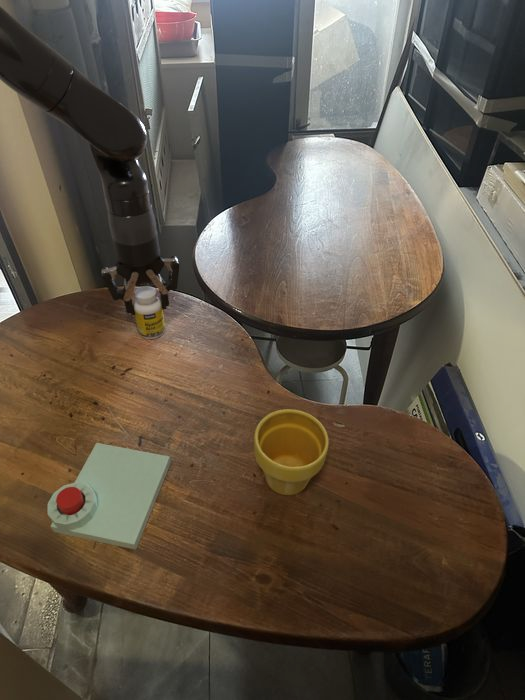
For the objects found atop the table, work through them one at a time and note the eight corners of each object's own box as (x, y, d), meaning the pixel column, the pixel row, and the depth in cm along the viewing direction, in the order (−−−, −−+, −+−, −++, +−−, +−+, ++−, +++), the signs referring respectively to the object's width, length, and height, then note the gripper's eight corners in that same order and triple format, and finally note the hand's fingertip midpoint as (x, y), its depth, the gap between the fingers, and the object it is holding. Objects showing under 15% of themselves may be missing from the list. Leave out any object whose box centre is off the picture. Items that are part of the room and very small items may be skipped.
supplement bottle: (146, 344, 94) (139, 304, 87) (133, 329, 97) (124, 290, 90) (170, 332, 96) (165, 293, 90) (156, 319, 99) (150, 280, 93)
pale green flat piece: (46, 531, 66) (38, 518, 64) (92, 447, 76) (87, 434, 74) (136, 550, 64) (131, 538, 62) (171, 462, 74) (168, 449, 72)
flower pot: (318, 447, 77) (325, 408, 70) (324, 507, 69) (332, 470, 63) (253, 447, 77) (254, 407, 70) (252, 506, 69) (253, 469, 62)
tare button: (55, 512, 65) (51, 505, 63) (66, 491, 67) (63, 484, 66) (77, 516, 64) (73, 510, 63) (88, 495, 67) (85, 489, 65)
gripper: (91, 249, 77) (112, 329, 89) (180, 236, 80) (189, 314, 92) (88, 227, 82) (108, 305, 94) (172, 215, 86) (181, 292, 97)
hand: (148, 309), depth 93 cm, fingers closed on supplement bottle, 5 cm apart
